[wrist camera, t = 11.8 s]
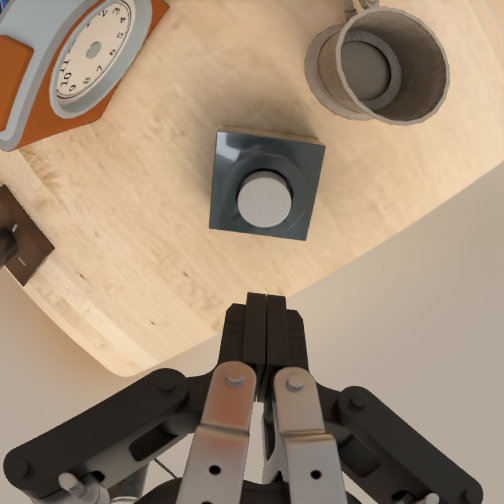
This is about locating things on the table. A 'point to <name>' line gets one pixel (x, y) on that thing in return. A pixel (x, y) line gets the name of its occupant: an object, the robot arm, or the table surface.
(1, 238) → the dial
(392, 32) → the mug
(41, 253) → the dial panel
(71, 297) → the table surface
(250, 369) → the robot arm
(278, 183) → the grey push button
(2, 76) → the alarm clock
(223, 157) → the push button base
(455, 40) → the table surface
